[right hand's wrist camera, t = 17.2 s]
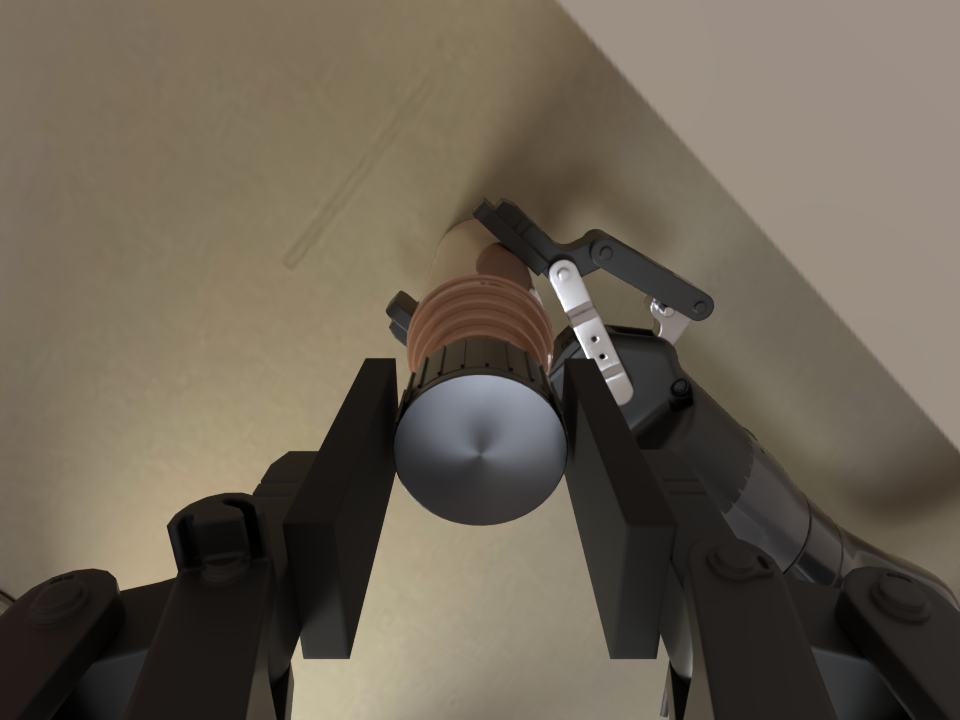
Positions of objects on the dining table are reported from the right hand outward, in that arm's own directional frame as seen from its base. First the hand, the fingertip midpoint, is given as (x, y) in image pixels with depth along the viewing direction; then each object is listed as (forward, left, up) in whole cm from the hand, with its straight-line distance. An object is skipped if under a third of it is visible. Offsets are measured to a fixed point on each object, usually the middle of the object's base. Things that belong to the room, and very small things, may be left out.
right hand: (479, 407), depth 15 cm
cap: (0, 0, +2) cm, 2 cm away
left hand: (+2, +1, -11) cm, 11 cm away
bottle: (0, 0, -17) cm, 17 cm away
